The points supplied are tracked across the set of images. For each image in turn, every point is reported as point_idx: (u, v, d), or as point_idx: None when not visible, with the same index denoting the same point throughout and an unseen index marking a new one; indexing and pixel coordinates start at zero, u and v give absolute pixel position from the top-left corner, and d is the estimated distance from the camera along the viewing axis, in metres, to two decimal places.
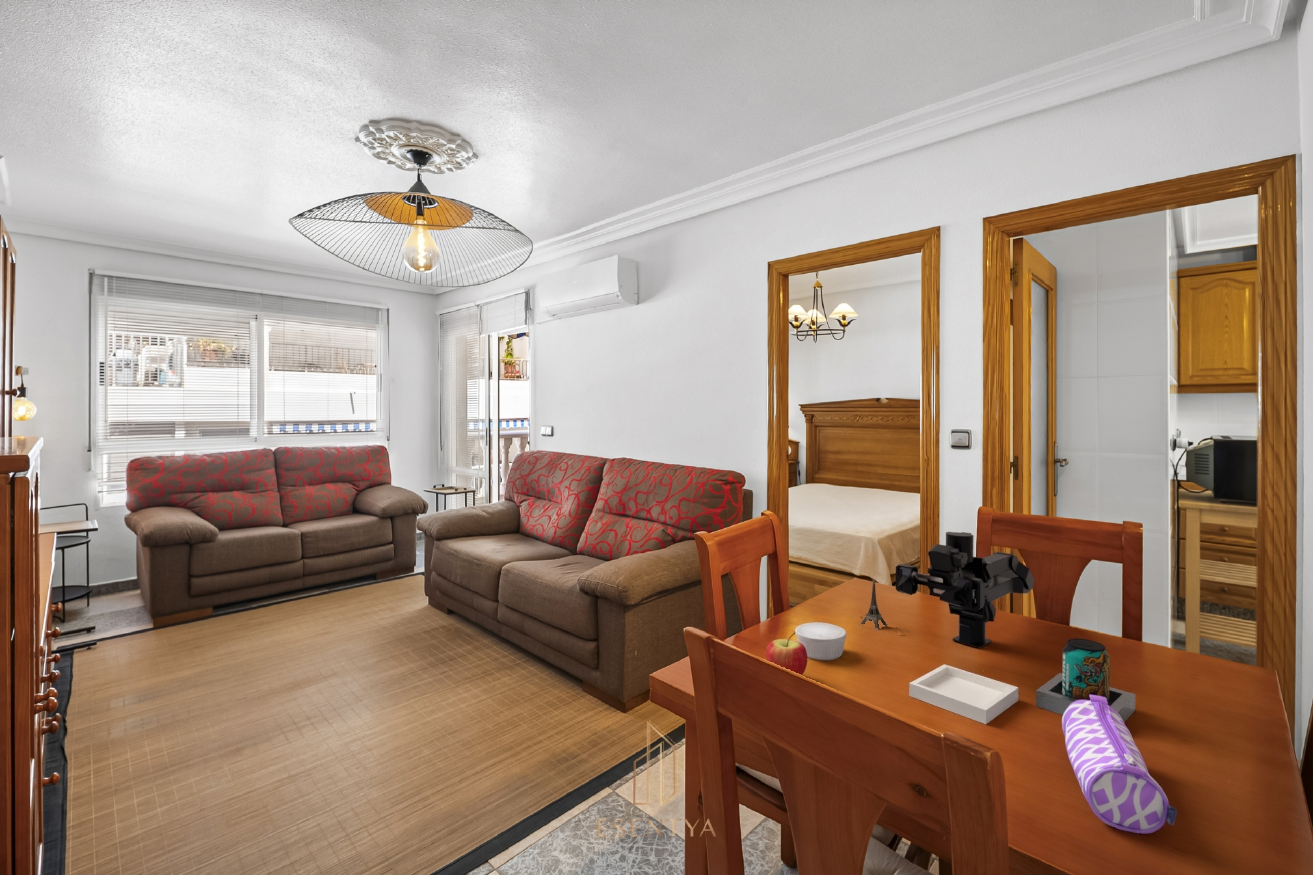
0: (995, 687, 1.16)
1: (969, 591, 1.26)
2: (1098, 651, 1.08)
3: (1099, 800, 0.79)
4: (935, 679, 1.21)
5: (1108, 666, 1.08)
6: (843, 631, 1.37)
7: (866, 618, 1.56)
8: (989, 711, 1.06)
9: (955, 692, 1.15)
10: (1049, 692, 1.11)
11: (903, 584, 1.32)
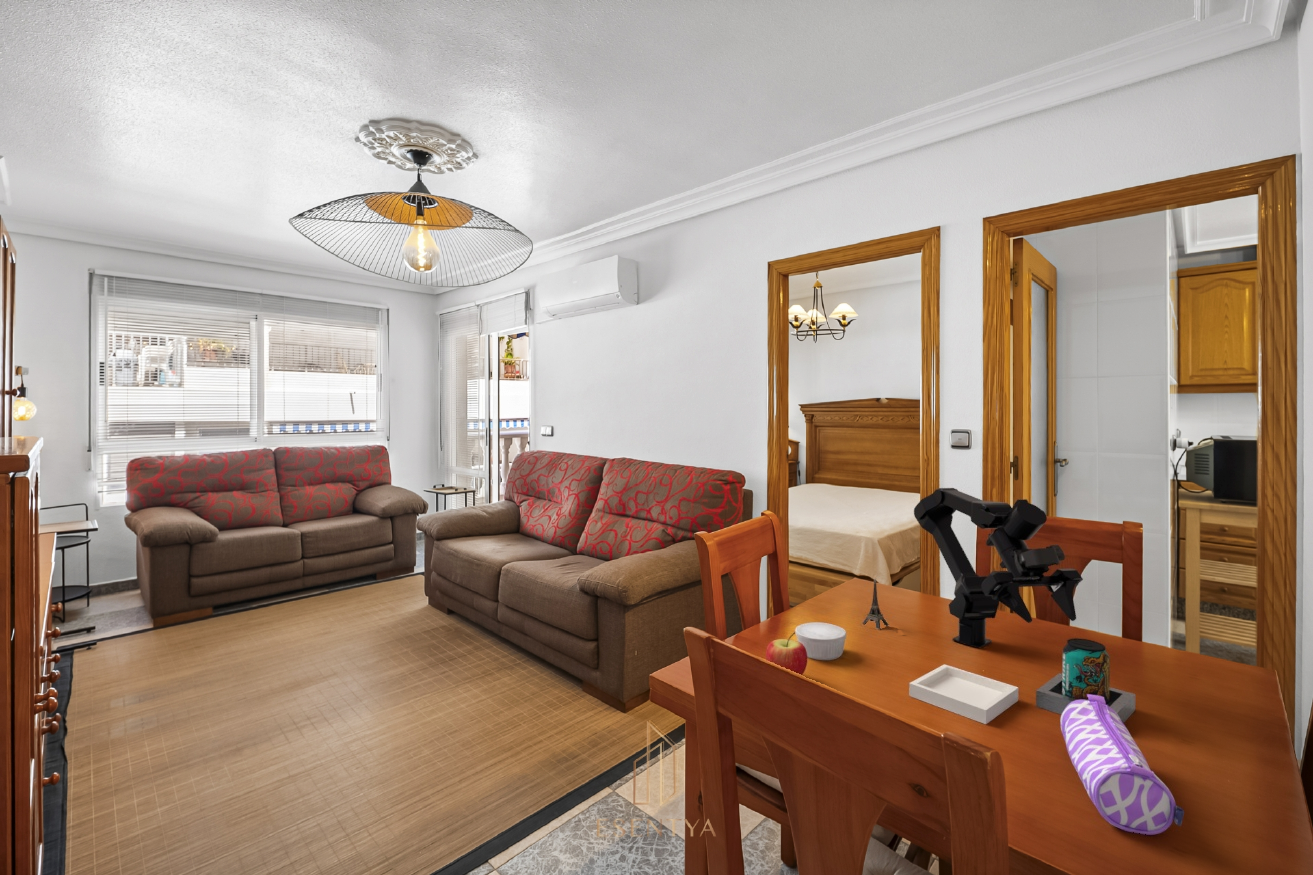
0: (995, 687, 1.16)
1: None
2: (1098, 651, 1.08)
3: (1106, 802, 0.78)
4: (935, 679, 1.21)
5: (1108, 666, 1.08)
6: (843, 631, 1.37)
7: (867, 618, 1.56)
8: (989, 711, 1.06)
9: (955, 692, 1.15)
10: (1049, 692, 1.11)
11: None
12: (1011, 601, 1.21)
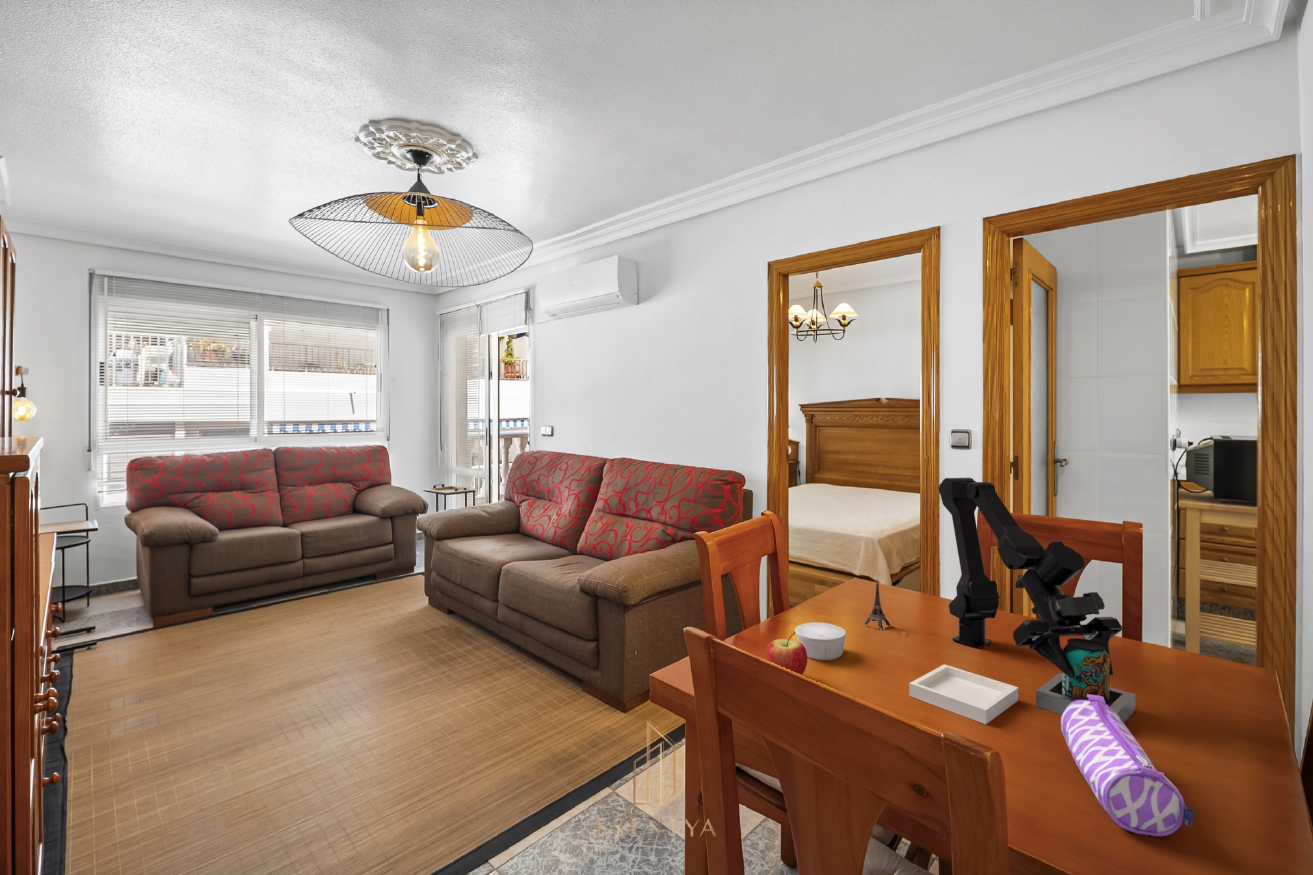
0: (995, 687, 1.16)
1: None
2: (1098, 651, 1.08)
3: (1116, 804, 0.78)
4: (935, 679, 1.21)
5: (1108, 666, 1.08)
6: (843, 631, 1.37)
7: (870, 618, 1.56)
8: (989, 711, 1.06)
9: (955, 692, 1.15)
10: (1049, 692, 1.11)
11: None
12: (1050, 652, 1.13)
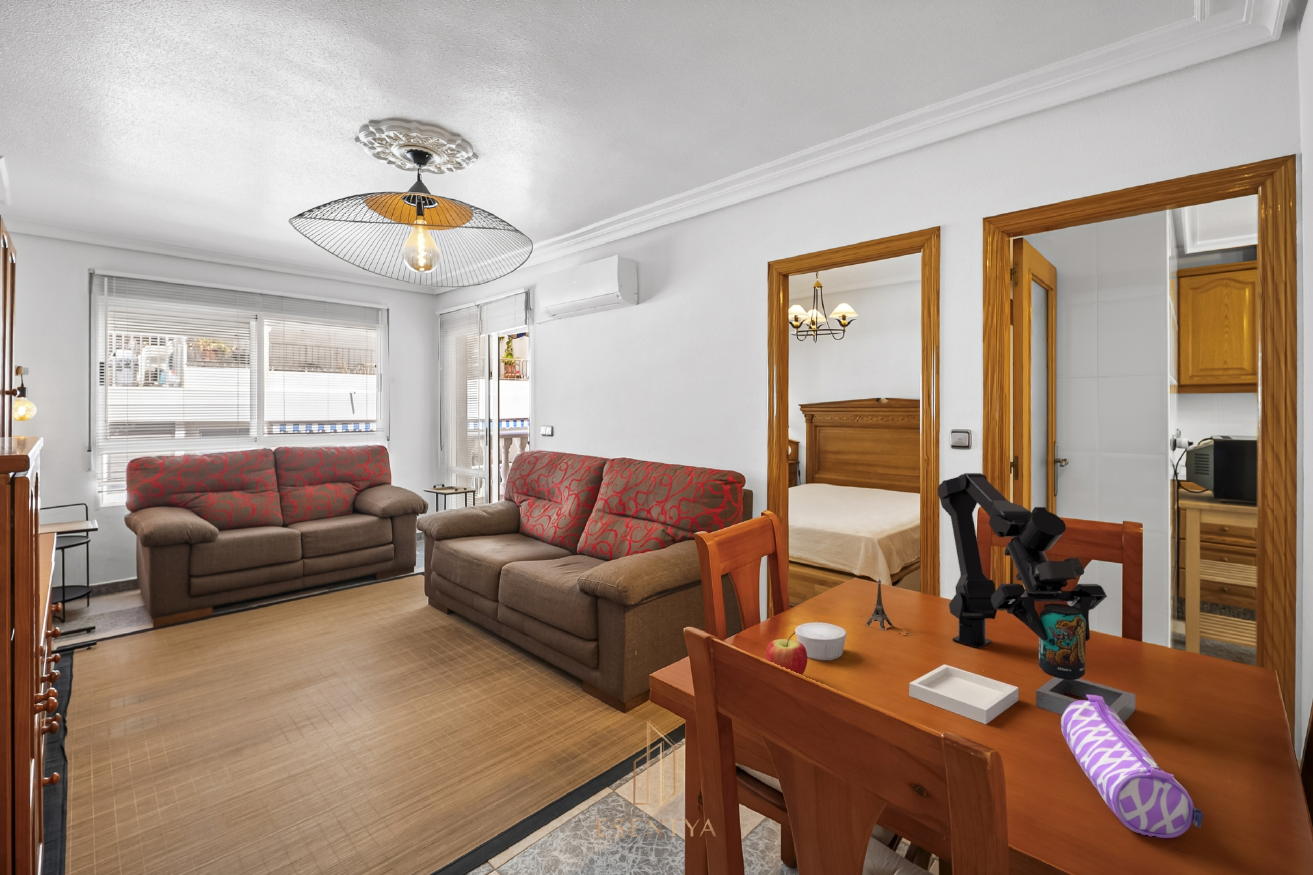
0: (995, 687, 1.16)
1: (1089, 605, 1.13)
2: (1072, 614, 1.07)
3: (1126, 807, 0.77)
4: (935, 679, 1.21)
5: (1083, 630, 1.07)
6: (843, 631, 1.37)
7: (872, 618, 1.56)
8: (989, 711, 1.06)
9: (955, 692, 1.15)
10: (1049, 692, 1.11)
11: None
12: (1026, 616, 1.13)
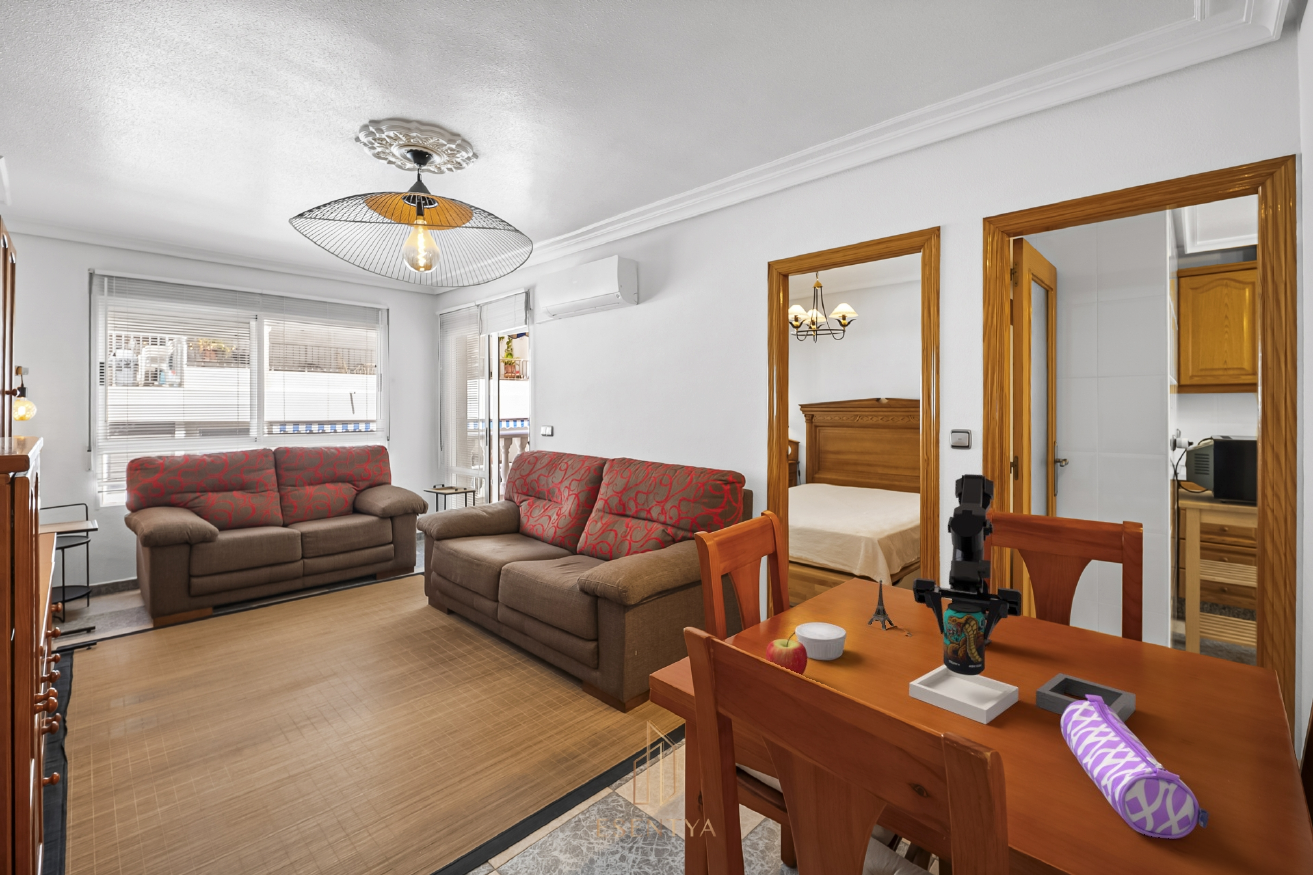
0: (995, 687, 1.16)
1: (1004, 609, 1.14)
2: (962, 612, 1.12)
3: (1132, 809, 0.77)
4: (935, 679, 1.21)
5: (973, 629, 1.11)
6: (843, 631, 1.37)
7: (873, 618, 1.56)
8: (989, 711, 1.06)
9: (955, 692, 1.15)
10: (1049, 692, 1.11)
11: None
12: None
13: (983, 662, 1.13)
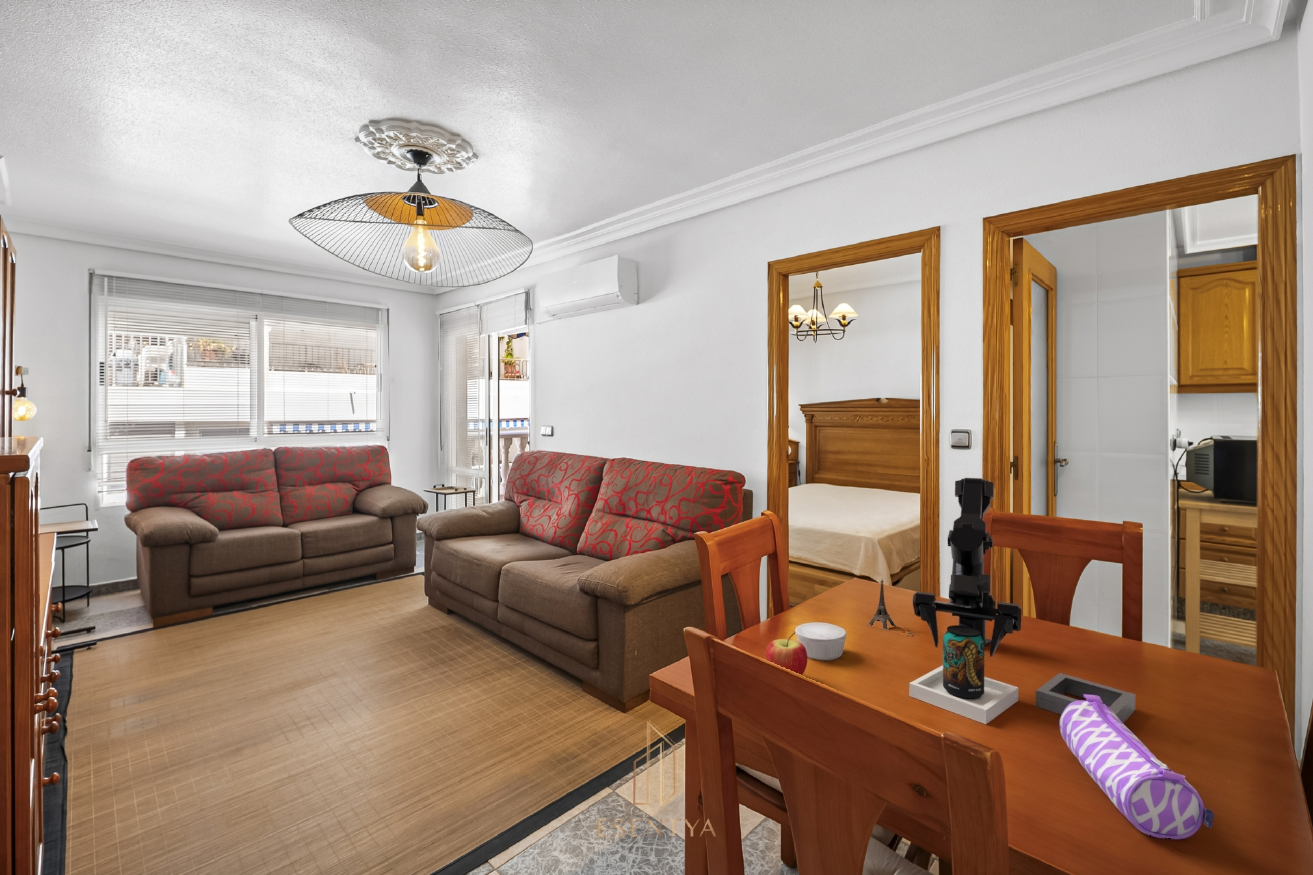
0: (995, 687, 1.16)
1: (1010, 624, 1.13)
2: (962, 635, 1.13)
3: (1138, 810, 0.77)
4: (935, 679, 1.21)
5: (972, 652, 1.12)
6: (843, 631, 1.37)
7: (874, 618, 1.56)
8: (989, 711, 1.06)
9: None
10: (1049, 692, 1.11)
11: (937, 635, 1.17)
12: None
13: (982, 686, 1.13)
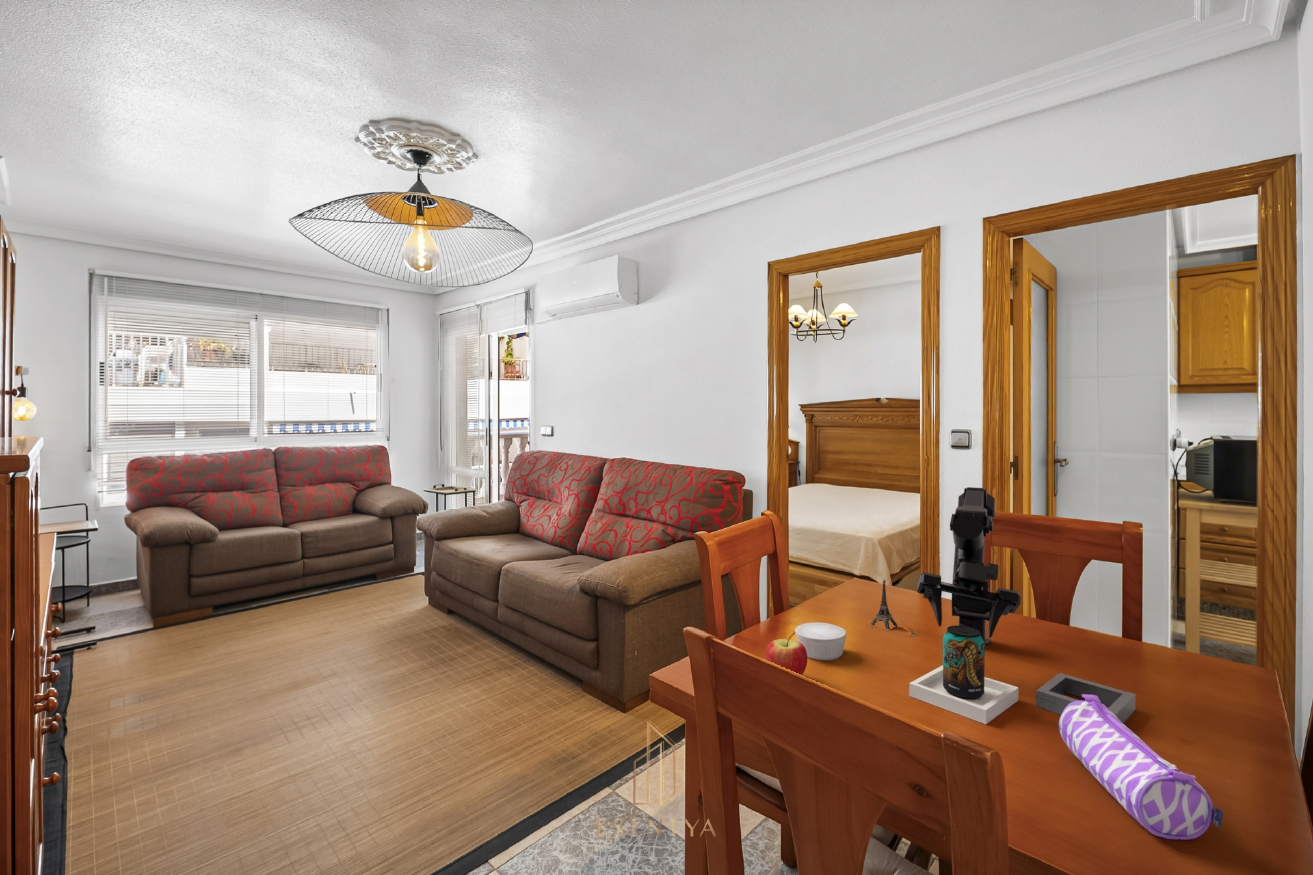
0: (995, 687, 1.16)
1: (1008, 609, 1.23)
2: (962, 636, 1.13)
3: (1150, 812, 0.76)
4: (935, 679, 1.21)
5: (973, 653, 1.12)
6: (843, 631, 1.37)
7: (876, 618, 1.55)
8: (989, 711, 1.06)
9: None
10: (1049, 692, 1.11)
11: (941, 615, 1.25)
12: (935, 603, 1.28)
13: (983, 686, 1.13)
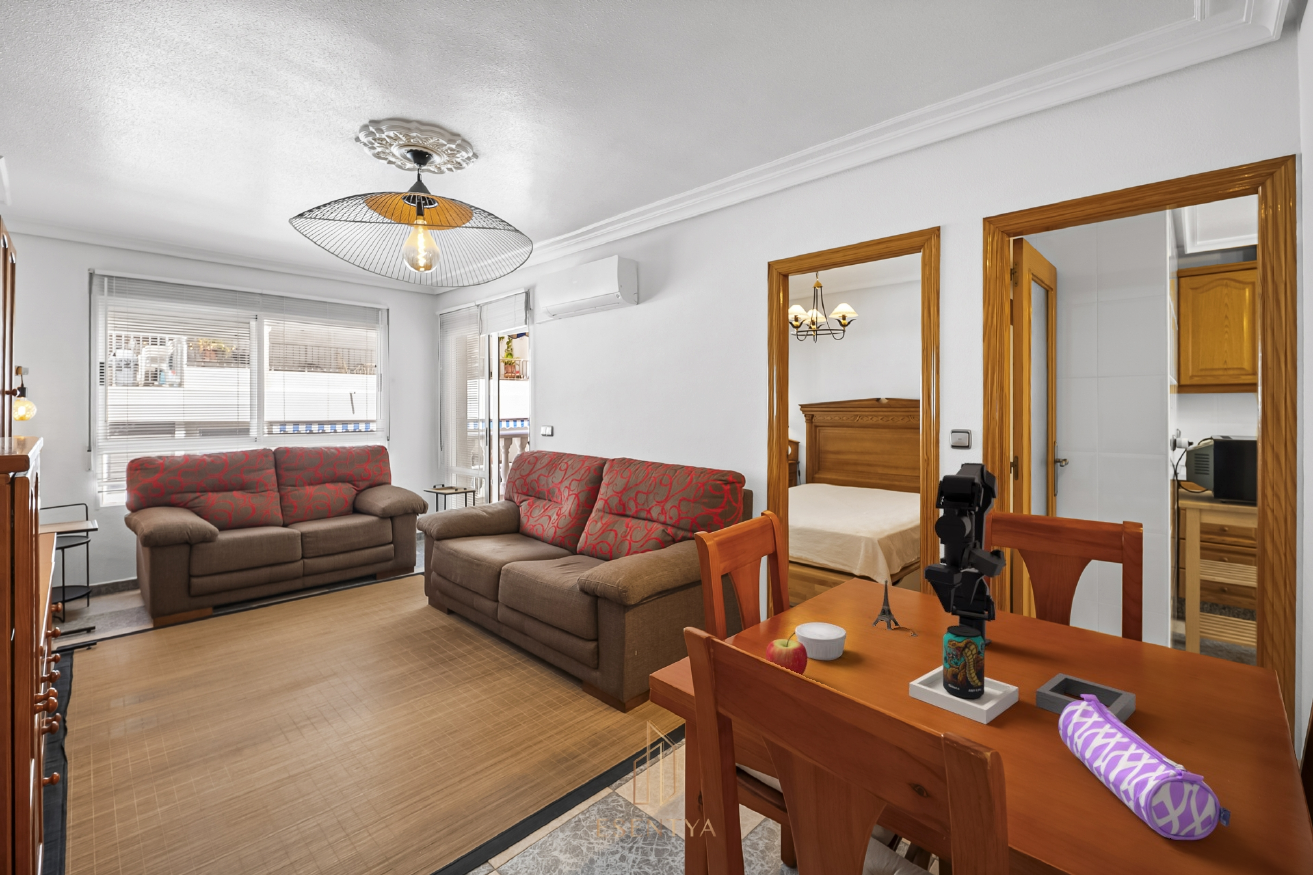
0: (995, 687, 1.16)
1: None
2: (962, 636, 1.13)
3: (1159, 813, 0.76)
4: (935, 679, 1.21)
5: (973, 653, 1.12)
6: (843, 631, 1.37)
7: (878, 618, 1.55)
8: (989, 711, 1.06)
9: None
10: (1049, 692, 1.11)
11: None
12: (942, 589, 1.25)
13: (983, 686, 1.13)
